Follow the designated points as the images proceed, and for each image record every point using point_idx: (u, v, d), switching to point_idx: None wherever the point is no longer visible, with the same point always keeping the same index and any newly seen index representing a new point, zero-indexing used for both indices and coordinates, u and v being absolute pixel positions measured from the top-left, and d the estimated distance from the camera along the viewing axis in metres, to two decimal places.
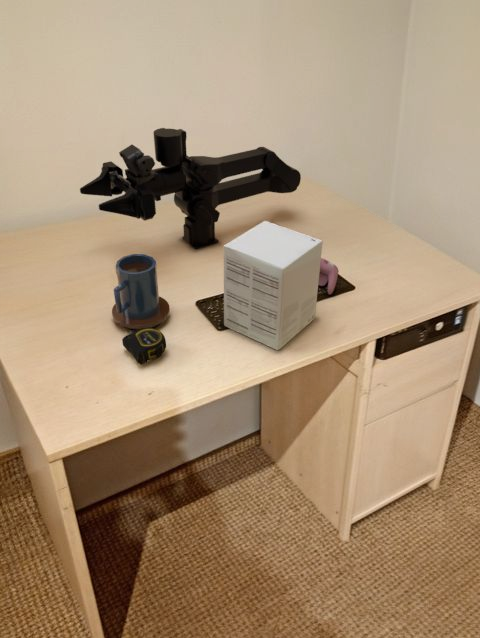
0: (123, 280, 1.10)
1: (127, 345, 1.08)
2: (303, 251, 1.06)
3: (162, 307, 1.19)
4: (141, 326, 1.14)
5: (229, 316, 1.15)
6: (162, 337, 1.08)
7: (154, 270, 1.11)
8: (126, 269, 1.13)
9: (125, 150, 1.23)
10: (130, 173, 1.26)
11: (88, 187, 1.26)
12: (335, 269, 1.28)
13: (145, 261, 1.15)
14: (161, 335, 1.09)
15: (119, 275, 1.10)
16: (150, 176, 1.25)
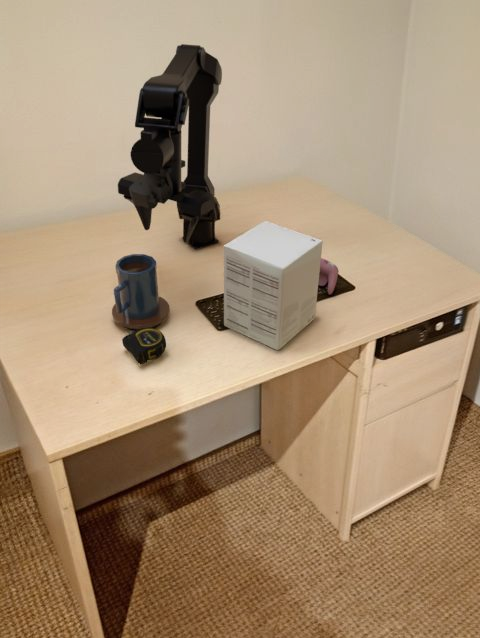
0: (123, 280, 1.10)
1: (127, 345, 1.08)
2: (303, 251, 1.06)
3: (162, 307, 1.19)
4: (141, 326, 1.14)
5: (229, 316, 1.15)
6: (162, 337, 1.08)
7: (154, 270, 1.11)
8: (126, 269, 1.13)
9: (136, 201, 1.09)
10: None
11: (146, 222, 1.20)
12: (335, 269, 1.28)
13: (145, 261, 1.15)
14: (161, 335, 1.09)
15: (119, 275, 1.10)
16: (168, 180, 1.10)
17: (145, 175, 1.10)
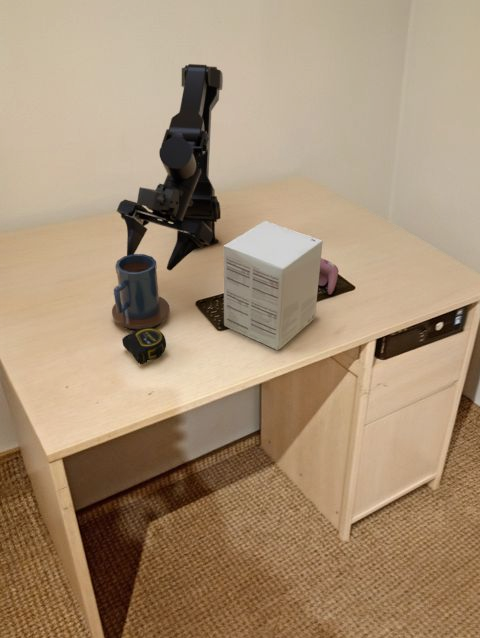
0: (123, 280, 1.10)
1: (127, 345, 1.08)
2: (303, 251, 1.06)
3: (162, 307, 1.19)
4: (141, 326, 1.14)
5: (229, 316, 1.15)
6: (162, 337, 1.08)
7: (154, 270, 1.11)
8: (126, 269, 1.13)
9: (142, 200, 1.09)
10: None
11: (131, 248, 1.16)
12: (335, 269, 1.28)
13: (145, 261, 1.15)
14: (161, 335, 1.09)
15: (119, 275, 1.10)
16: None
17: (156, 190, 1.13)
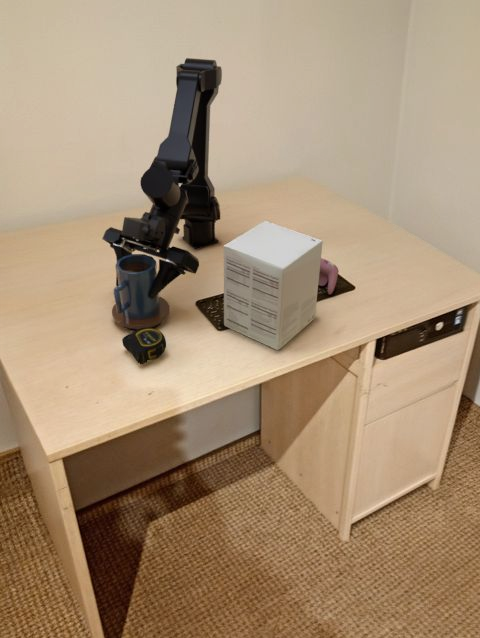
0: (123, 280, 1.10)
1: (127, 345, 1.08)
2: (303, 251, 1.06)
3: (162, 307, 1.19)
4: (141, 326, 1.14)
5: (229, 316, 1.15)
6: (162, 337, 1.08)
7: (154, 270, 1.11)
8: (126, 269, 1.13)
9: (126, 230, 1.08)
10: None
11: None
12: (335, 269, 1.28)
13: (145, 261, 1.15)
14: (161, 335, 1.09)
15: (119, 275, 1.10)
16: None
17: (141, 219, 1.12)
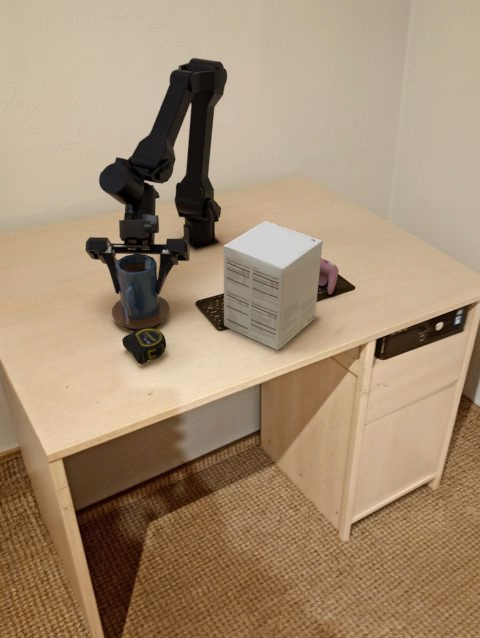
0: (130, 282, 1.10)
1: (127, 345, 1.08)
2: (303, 251, 1.06)
3: (160, 303, 1.20)
4: (153, 324, 1.14)
5: (229, 316, 1.15)
6: (162, 337, 1.08)
7: (156, 266, 1.13)
8: None
9: (127, 232, 1.07)
10: (130, 237, 1.13)
11: None
12: (335, 269, 1.28)
13: (139, 260, 1.15)
14: (161, 335, 1.09)
15: (125, 278, 1.10)
16: None
17: None
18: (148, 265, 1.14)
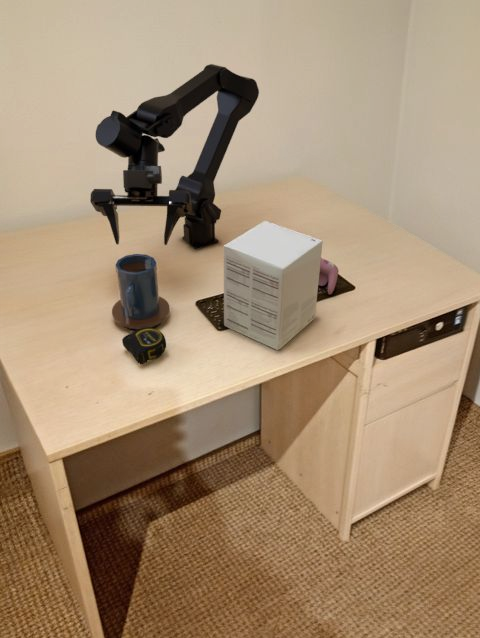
0: (130, 282, 1.10)
1: (127, 345, 1.08)
2: (303, 251, 1.06)
3: (160, 303, 1.20)
4: (153, 324, 1.14)
5: (229, 316, 1.15)
6: (162, 337, 1.08)
7: (156, 266, 1.13)
8: None
9: (130, 181, 1.11)
10: (134, 189, 1.16)
11: (117, 234, 1.17)
12: (335, 269, 1.28)
13: (139, 260, 1.15)
14: (161, 335, 1.09)
15: (125, 278, 1.10)
16: None
17: None
18: (148, 265, 1.14)
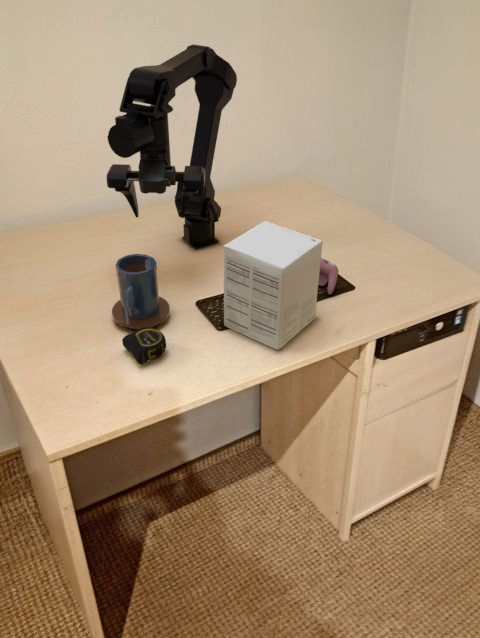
0: (130, 282, 1.10)
1: (127, 345, 1.08)
2: (303, 251, 1.06)
3: (160, 303, 1.20)
4: (153, 324, 1.14)
5: (229, 316, 1.15)
6: (162, 337, 1.08)
7: (156, 266, 1.13)
8: None
9: (147, 189, 1.13)
10: None
11: (137, 209, 1.23)
12: (335, 269, 1.28)
13: (139, 260, 1.15)
14: (161, 335, 1.09)
15: (125, 278, 1.10)
16: (167, 162, 1.15)
17: (144, 163, 1.14)
18: (148, 265, 1.14)
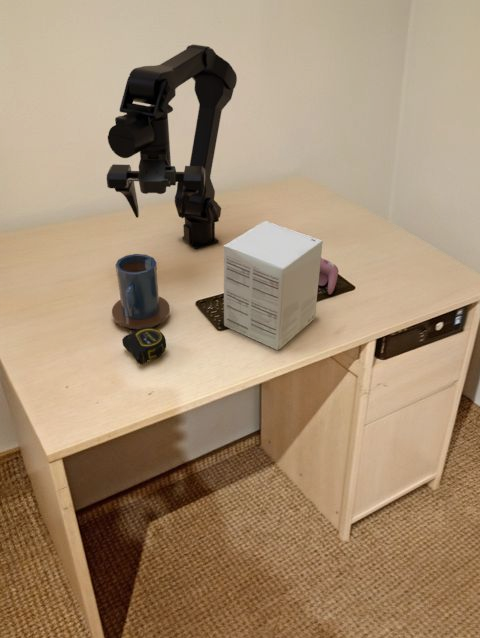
0: (130, 282, 1.10)
1: (127, 345, 1.08)
2: (303, 251, 1.06)
3: (160, 303, 1.20)
4: (153, 324, 1.14)
5: (229, 316, 1.15)
6: (162, 337, 1.08)
7: (156, 266, 1.13)
8: None
9: (147, 189, 1.13)
10: None
11: (137, 209, 1.23)
12: (335, 269, 1.28)
13: (139, 260, 1.15)
14: (161, 335, 1.09)
15: (125, 278, 1.10)
16: (167, 162, 1.15)
17: (144, 163, 1.14)
18: (148, 265, 1.14)
